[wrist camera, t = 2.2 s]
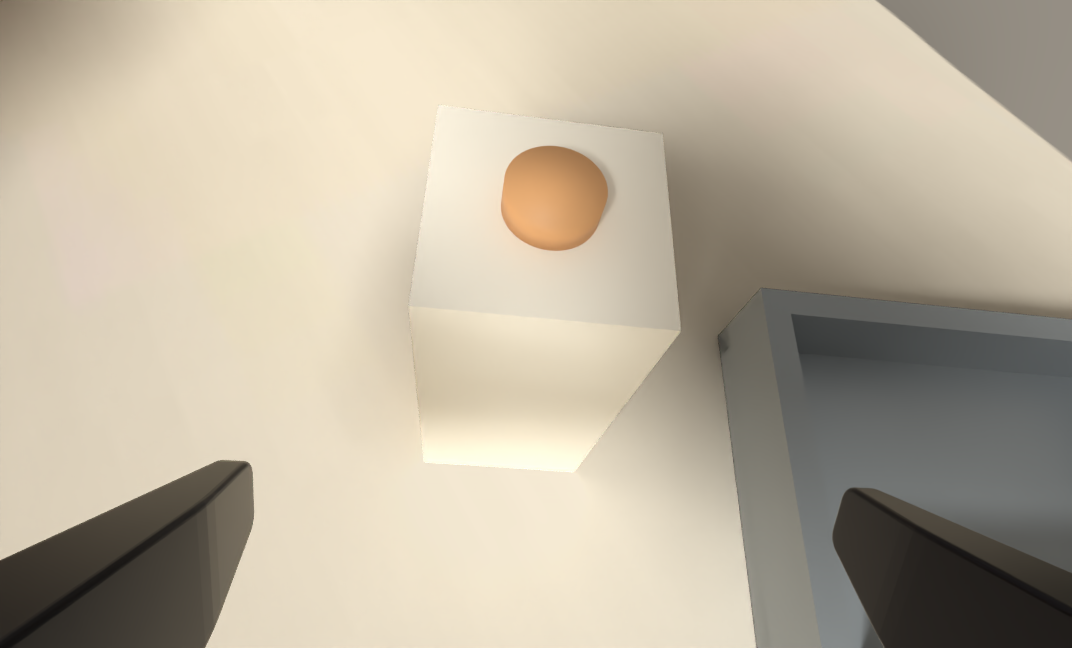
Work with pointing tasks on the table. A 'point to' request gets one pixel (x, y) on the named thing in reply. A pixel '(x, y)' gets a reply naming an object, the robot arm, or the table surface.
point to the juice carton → (537, 286)
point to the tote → (888, 439)
